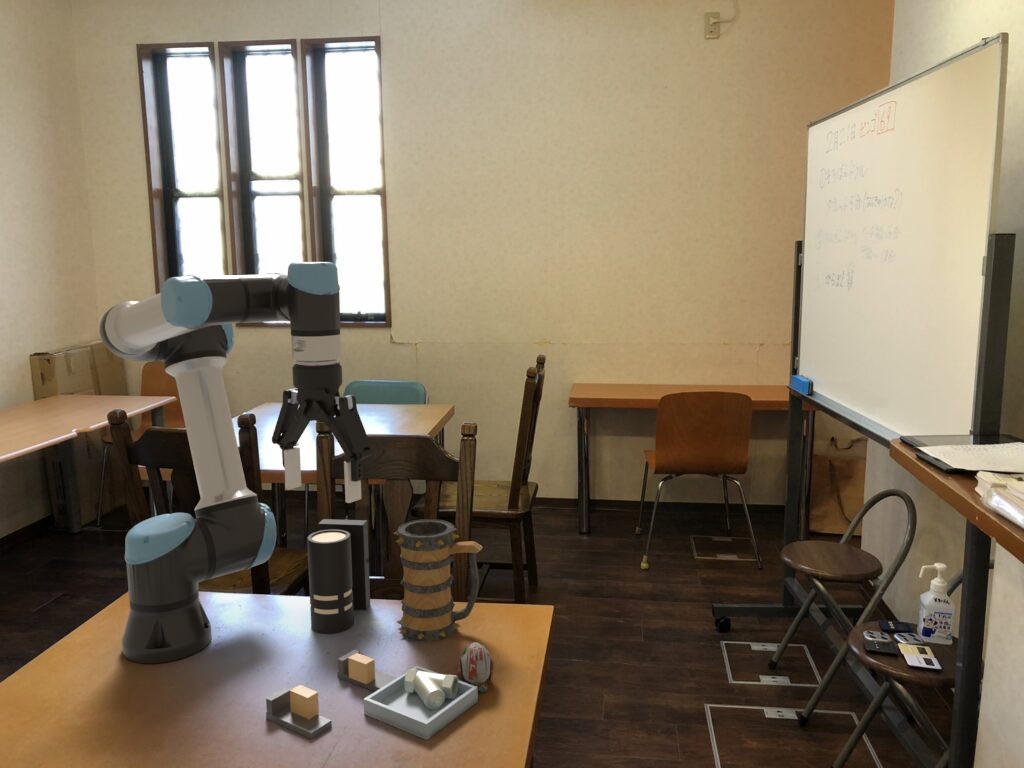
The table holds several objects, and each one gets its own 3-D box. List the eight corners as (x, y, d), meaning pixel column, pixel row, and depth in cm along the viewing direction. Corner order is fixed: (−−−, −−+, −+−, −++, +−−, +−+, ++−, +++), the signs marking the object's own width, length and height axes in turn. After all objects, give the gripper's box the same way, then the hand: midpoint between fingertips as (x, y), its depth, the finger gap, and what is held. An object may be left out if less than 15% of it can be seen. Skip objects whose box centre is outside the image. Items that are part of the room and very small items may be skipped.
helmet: (458, 698, 134) (458, 671, 130) (457, 657, 141) (457, 631, 137) (494, 696, 135) (495, 670, 131) (491, 656, 141) (492, 629, 137)
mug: (405, 612, 164) (402, 515, 161) (490, 618, 161) (489, 519, 158) (385, 642, 151) (381, 537, 148) (476, 648, 149) (475, 542, 145)
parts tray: (364, 714, 127) (363, 699, 127) (417, 679, 138) (416, 665, 137) (426, 739, 120) (426, 724, 120) (477, 701, 131) (477, 686, 130)
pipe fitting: (443, 717, 126) (459, 692, 132) (442, 694, 125) (458, 670, 131) (395, 709, 128) (413, 684, 135) (394, 686, 127) (412, 663, 134)
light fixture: (300, 632, 155) (296, 542, 153) (325, 602, 169) (321, 519, 166) (350, 635, 154) (347, 544, 152) (371, 604, 168) (368, 520, 165)
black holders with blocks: (266, 718, 126) (264, 691, 126) (354, 667, 142) (353, 643, 141) (311, 739, 121) (310, 710, 120) (398, 683, 136) (397, 658, 136)
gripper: (244, 359, 132) (252, 487, 135) (358, 370, 118) (363, 512, 121) (281, 354, 138) (287, 477, 141) (393, 364, 124) (397, 500, 127)
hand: (322, 494), depth 131 cm, fingers open, 13 cm apart
